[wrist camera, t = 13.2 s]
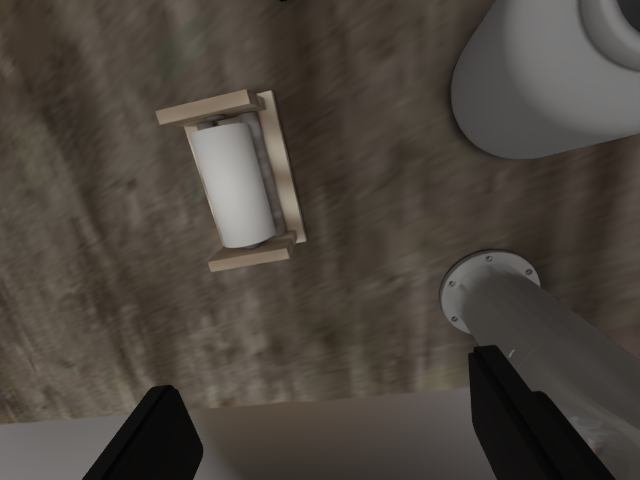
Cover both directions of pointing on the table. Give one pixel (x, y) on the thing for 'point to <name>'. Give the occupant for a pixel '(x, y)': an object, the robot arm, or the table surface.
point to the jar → (549, 76)
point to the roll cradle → (271, 163)
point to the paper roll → (234, 184)
